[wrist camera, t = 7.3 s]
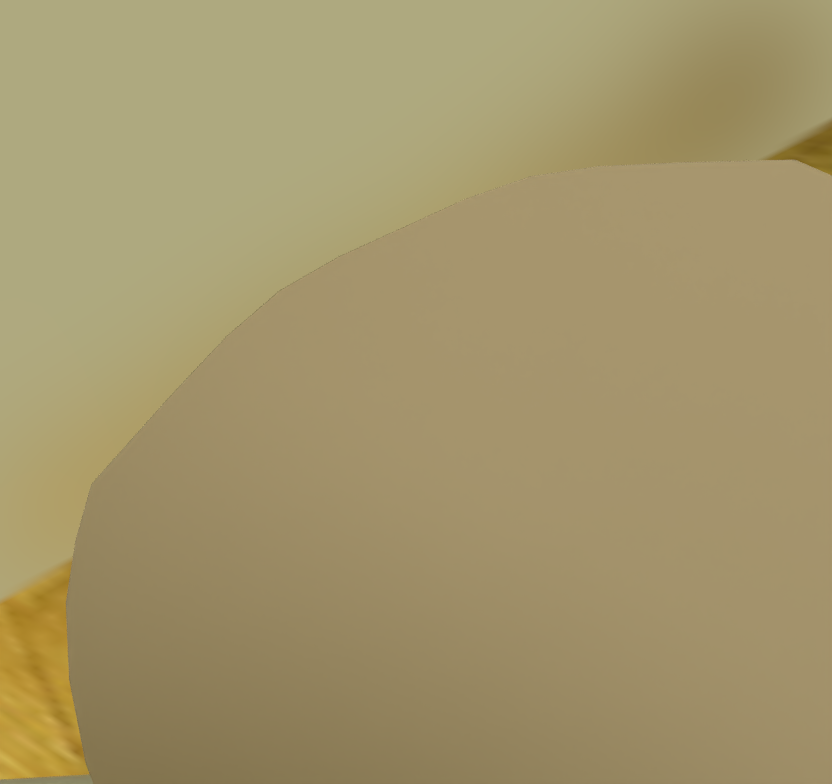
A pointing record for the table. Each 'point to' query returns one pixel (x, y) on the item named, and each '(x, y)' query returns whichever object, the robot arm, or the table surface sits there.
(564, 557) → the handle
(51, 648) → the table surface
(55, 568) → the table surface
